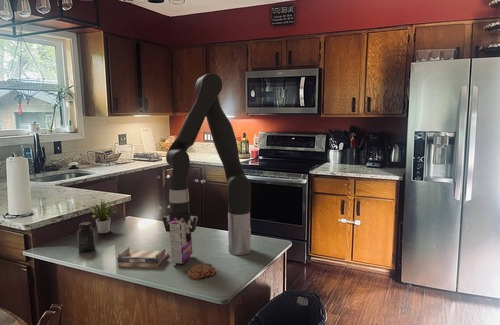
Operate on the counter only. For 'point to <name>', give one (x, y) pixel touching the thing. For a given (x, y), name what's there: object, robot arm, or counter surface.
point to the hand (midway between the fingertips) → (181, 241)
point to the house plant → (103, 217)
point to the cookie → (201, 271)
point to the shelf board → (141, 258)
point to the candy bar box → (179, 241)
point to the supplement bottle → (86, 237)
